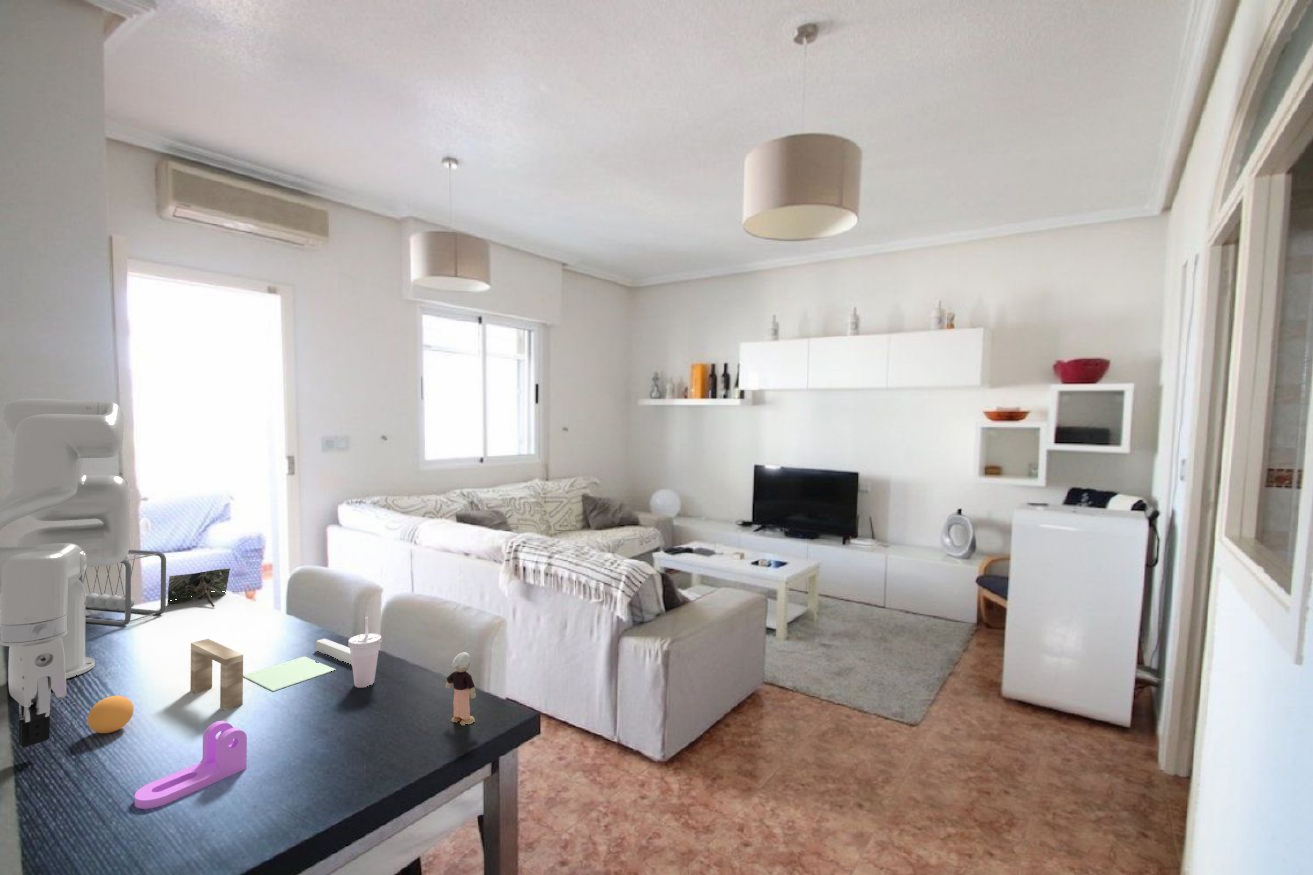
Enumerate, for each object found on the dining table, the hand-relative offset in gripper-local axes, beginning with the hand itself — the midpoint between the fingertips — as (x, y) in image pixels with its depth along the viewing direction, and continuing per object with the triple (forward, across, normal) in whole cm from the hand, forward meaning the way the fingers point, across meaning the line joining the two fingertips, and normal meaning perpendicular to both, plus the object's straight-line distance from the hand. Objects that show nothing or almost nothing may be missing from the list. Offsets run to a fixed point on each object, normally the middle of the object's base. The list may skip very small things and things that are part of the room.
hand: (34, 742), depth 96 cm
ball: (-1, 0, -10) cm, 10 cm away
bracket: (+3, -29, -11) cm, 31 cm away
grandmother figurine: (+3, -47, -47) cm, 66 cm away
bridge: (+2, 0, -26) cm, 26 cm away
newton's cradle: (+2, +80, -30) cm, 86 cm away
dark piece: (-4, +76, -51) cm, 92 cm away
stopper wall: (+2, 0, -51) cm, 51 cm away
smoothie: (+3, -18, -46) cm, 49 cm away
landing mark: (+2, 0, -40) cm, 40 cm away
